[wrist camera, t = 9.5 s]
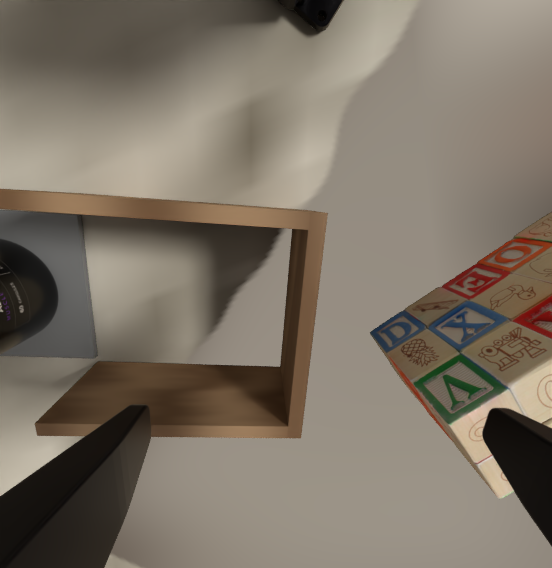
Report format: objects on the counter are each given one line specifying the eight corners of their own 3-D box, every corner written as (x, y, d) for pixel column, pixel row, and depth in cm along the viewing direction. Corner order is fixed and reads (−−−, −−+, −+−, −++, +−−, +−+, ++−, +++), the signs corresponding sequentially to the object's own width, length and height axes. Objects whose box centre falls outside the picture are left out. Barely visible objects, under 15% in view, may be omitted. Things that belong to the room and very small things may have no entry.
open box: (306, 210, 18) (327, 213, 13) (289, 376, 22) (300, 438, 16) (78, 193, 17) (-13, 188, 11) (99, 370, 21) (37, 435, 15)
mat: (81, 215, 18) (77, 215, 17) (97, 355, 20) (94, 358, 20) (-93, 203, 17) (-101, 203, 16) (-51, 350, 20) (-58, 353, 19)
